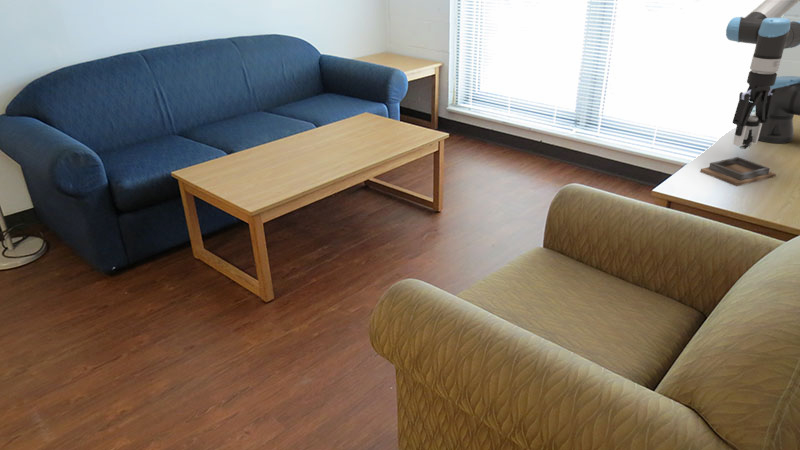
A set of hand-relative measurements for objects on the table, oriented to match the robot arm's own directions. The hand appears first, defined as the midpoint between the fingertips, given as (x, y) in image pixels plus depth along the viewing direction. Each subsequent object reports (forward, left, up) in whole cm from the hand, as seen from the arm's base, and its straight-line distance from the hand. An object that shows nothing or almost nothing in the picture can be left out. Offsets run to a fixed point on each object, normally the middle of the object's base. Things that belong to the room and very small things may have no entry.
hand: (745, 143), depth 192 cm
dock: (0, 0, -11) cm, 11 cm away
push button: (0, 0, -2) cm, 2 cm away
